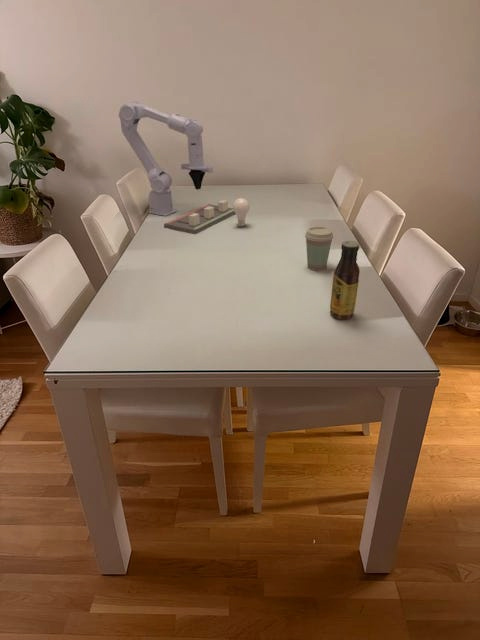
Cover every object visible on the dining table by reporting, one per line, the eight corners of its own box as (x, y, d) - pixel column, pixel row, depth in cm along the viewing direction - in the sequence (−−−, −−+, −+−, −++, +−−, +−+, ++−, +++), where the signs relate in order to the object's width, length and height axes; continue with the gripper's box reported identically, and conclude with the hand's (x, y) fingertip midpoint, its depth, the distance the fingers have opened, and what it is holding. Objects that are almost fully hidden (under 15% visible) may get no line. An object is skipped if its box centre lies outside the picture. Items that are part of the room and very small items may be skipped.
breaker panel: (164, 227, 181) (164, 223, 180) (208, 207, 203) (208, 203, 202) (195, 234, 174) (195, 230, 174) (237, 212, 196) (237, 208, 195)
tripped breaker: (189, 225, 178) (188, 215, 176) (194, 222, 181) (194, 212, 179) (194, 226, 177) (193, 216, 175) (199, 223, 180) (199, 213, 178)
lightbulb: (250, 223, 184) (250, 196, 178) (248, 229, 178) (248, 200, 173) (234, 223, 184) (233, 195, 179) (232, 229, 179) (231, 200, 173)
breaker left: (218, 211, 193) (218, 202, 191) (223, 208, 195) (222, 200, 193) (223, 212, 192) (222, 202, 190) (227, 209, 194) (227, 200, 192)
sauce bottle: (326, 309, 123) (333, 238, 113) (349, 308, 123) (358, 237, 113) (333, 322, 117) (340, 248, 107) (357, 320, 118) (367, 247, 108)
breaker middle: (204, 217, 185) (203, 208, 184) (209, 215, 188) (209, 206, 186) (209, 218, 184) (208, 209, 182) (214, 216, 187) (213, 207, 185)
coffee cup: (332, 263, 149) (335, 227, 143) (327, 274, 142) (331, 236, 136) (306, 260, 152) (308, 224, 146) (300, 270, 145) (302, 233, 139)
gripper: (175, 154, 184) (178, 189, 191) (204, 157, 177) (206, 193, 184) (186, 151, 189) (188, 185, 196) (215, 154, 182) (216, 189, 189)
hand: (198, 188), depth 191 cm, fingers closed
